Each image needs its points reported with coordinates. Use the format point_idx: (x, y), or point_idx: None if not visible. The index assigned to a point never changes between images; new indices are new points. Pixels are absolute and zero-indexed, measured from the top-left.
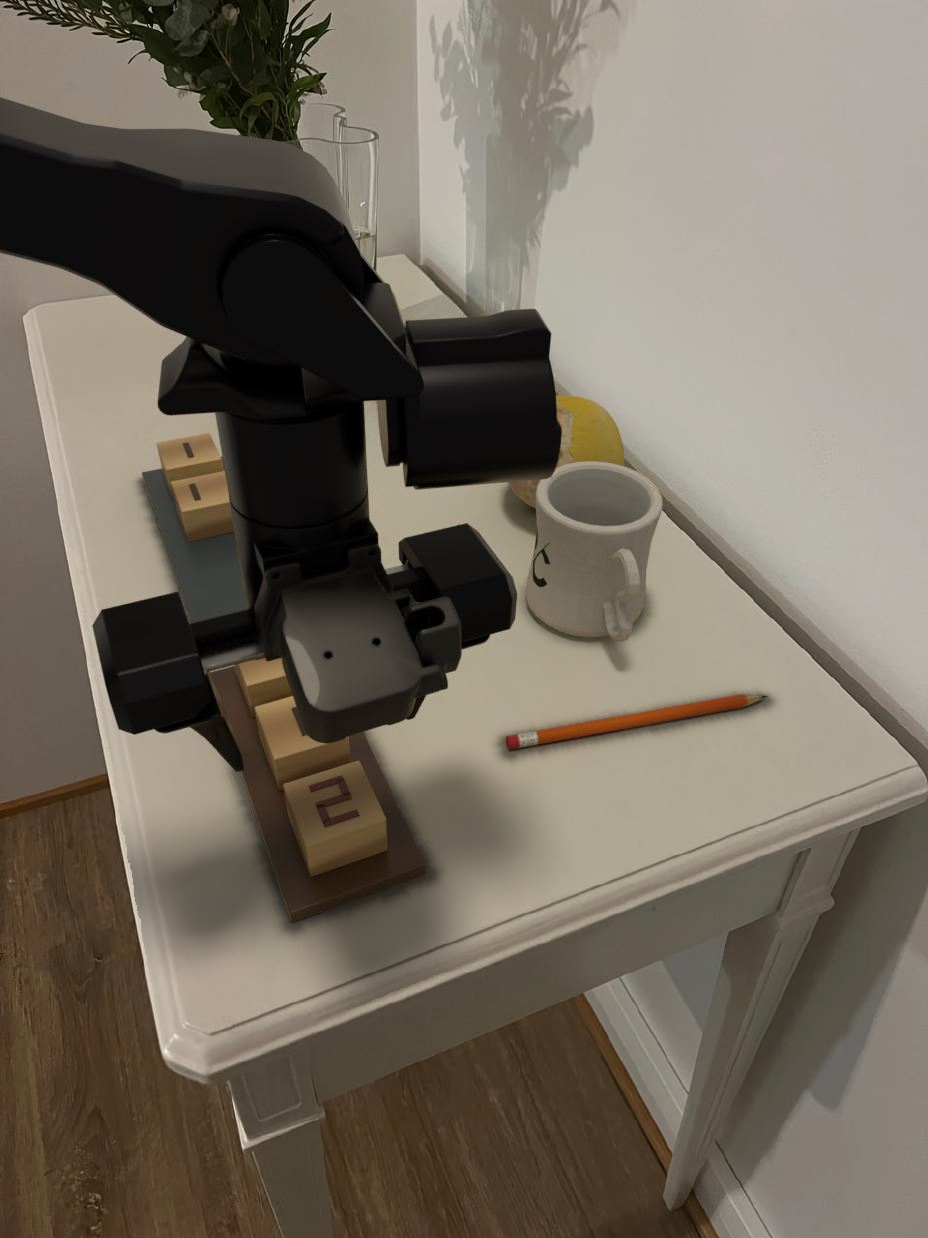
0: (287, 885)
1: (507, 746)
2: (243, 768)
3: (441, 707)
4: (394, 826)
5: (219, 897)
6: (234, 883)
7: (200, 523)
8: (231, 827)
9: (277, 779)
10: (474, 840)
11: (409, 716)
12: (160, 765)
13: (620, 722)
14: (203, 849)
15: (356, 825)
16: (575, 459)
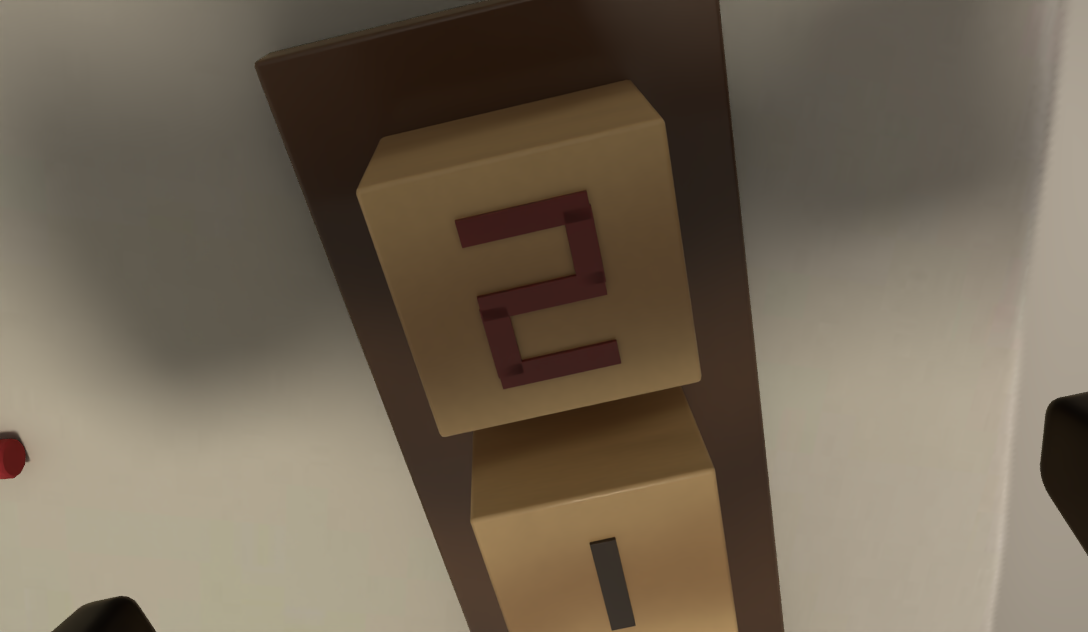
0: (705, 62)
1: (20, 448)
2: (1071, 405)
3: (220, 575)
4: (354, 221)
5: (883, 84)
6: (834, 123)
7: None
8: (808, 300)
9: (690, 412)
10: (111, 153)
11: (92, 621)
12: (937, 490)
13: None
14: (891, 245)
15: (469, 179)
16: None
